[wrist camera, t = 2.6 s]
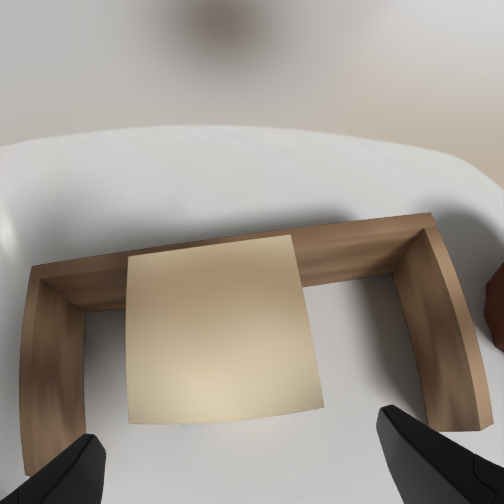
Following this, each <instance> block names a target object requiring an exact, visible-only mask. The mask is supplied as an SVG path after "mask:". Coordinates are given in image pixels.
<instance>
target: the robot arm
mask: <svg viewBox="0 0 504 504" xmlns="http://www.w3.org/2000/svg"><path fill="white" fill-rule="evenodd" d="M376 429H377V433H378V436H379V439H380V442H381V446H382V449H383V452H384V455H385V459H386V462H387V465H388V468H389V471H390V473H391V475H392V478H393V480H394V482H395V484H396V486H397V489H398V491H399V493H400V495H401V498H402V500H403V502H404V504H504V468H503V467H501V466H499V465H496V464H494V463H492V462H490V461H488V460H486V459H484V458H482V457H480V456H479V455H477V454H473V452H471V451H470V450H468V449H466V448H464V447H463V446H461V445H459V444H457V443H456V442H454V441H452V440H450V439H449V438H447V437H445V436H444V435H442V434H440V433H439V432H437V431H435V430H433V429H432V428H430V427H428V426H427V425H425V424H424V423H422V422H420V421H419V420H417V419H415V418H414V417H412V416H410V415H409V414H407V413H406V412H404V411H402V410H401V409H399V408H398V407H396V406H394V405H388V406H384V407H381V408H380V410H379V413H378V419H377V423H376ZM105 462H106V451H105V449H104V447H103V446H102V444H101V443H100V441H99V439H98V438H97V437H96V436H95V435H94V434H83V435H81V436H80V437H79V438H78V439H77V440H75V441H74V442H73V443H72V444H71V445H69V446H68V447H67V448H66V449H65V450H63V451H62V452H61V453H60V454H59V455H57V456H56V457H55V458H54V459H53V460H51V461H50V462H49V463H48V464H46V465H45V466H44V467H43V468H42V469H40V470H39V471H38V472H37V473H35V474H34V475H33V476H32V477H31V478H29V479H28V480H27V481H26V482H24V483H23V484H22V485H21V486H19V487H18V488H17V489H15V490H14V491H13V492H12V493H10V494H9V495H8V496H6V497H5V498H4V499H2V500H1V501H0V504H101V499H102V493H103V485H104V473H105Z"/></svg>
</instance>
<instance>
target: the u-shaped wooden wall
mask: <svg viewBox="0 0 504 504" xmlns="http://www.w3.org/2000/svg"><path fill="white" fill-rule="evenodd" d="M283 235H291V239H292V243H293V248H294V252H295V257H296V262H297V266H298V271H299V276H300V280H301V285H302V287H308V286H315V285H321V284H328V283H334V282H340V281H346V280H352V279H358V278H364V277H370V276H376V275H381V274H387V273H392V275H393V278H394V282H395V285H396V288H397V291H398V294H399V298H400V301H401V305H402V308H403V312H404V315H405V319H406V322H407V326H408V330H409V334H410V338H411V342H412V346H413V350H414V354H415V358H416V363H417V367H418V372H419V376H420V381H421V386H422V391H423V397H424V402H425V408H426V414H427V420H428V426H429V427H430V428H432V429H433V430H435V431H437V432H463V431H481V430H483V429H485V428H487V427H488V426H490V425H492V424H494V423H493V415H492V408H491V402H490V396H489V390H488V385H487V379H486V375H485V370H484V365H483V361H482V357H481V352H480V348H479V344H478V341H477V337H476V333H475V329H474V326H473V323H472V319H471V316H470V312H469V309H468V306H467V303H466V300H465V297H464V294H463V291H462V288H461V285H460V282H459V280H458V277H457V274H456V271H455V269H454V266H453V264H452V261H451V258H450V256H449V253H448V251H447V249H446V246H445V244H444V241H443V239H442V237H441V234H440V232H439V230H438V228H437V225H436V223H435V221H434V219H433V217H432V214H431V212H430V213H421V214H412V215H402V216H393V217H384V218H375V219H367V220H358V221H349V222H341V223H333V224H324V225H316V226H308V227H300V228H292V229H284V230H276V231H268V232H261V233H253V234H245V235H238V236H230V237H223V238H216V239H208V240H201V241H194V242H187V243H180V244H173V245H166V246H159V247H152V248H145V249H138V250H131V251H125V252H118V253H111V254H105V255H98V256H92V257H85V258H79V259H73V260H66V261H60V262H54V263H48V264H42V265H36V266H32V268H31V273H30V278H29V284H28V290H27V296H26V303H25V310H24V318H23V327H22V337H21V350H20V370H19V412H20V431H21V443H22V453H23V461H24V469H25V475H27V476H30V477H32V476H33V475H34V474H35V473H37V472H38V471H39V470H40V469H42V468H43V467H44V466H45V465H46V464H48V463H49V462H50V461H51V460H53V459H54V458H55V457H56V456H57V455H59V454H60V453H61V452H62V451H63V450H65V449H66V448H67V447H68V446H69V445H71V444H72V443H73V442H74V441H75V440H77V439H78V438H79V437H80V436H81V435H83V434H86V425H85V409H84V329H85V312H95V311H107V310H118V309H126V292H127V272H128V257H129V256H136V255H143V254H150V253H157V252H164V251H171V250H178V249H186V248H193V247H200V246H208V245H215V244H222V243H230V242H237V241H245V240H252V239H260V238H268V237H275V236H283Z"/></svg>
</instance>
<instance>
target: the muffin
mask: <svg viewBox="0 0 504 504" xmlns="http://www.w3.org/2000/svg"><path fill="white" fill-rule="evenodd" d="M484 317H485V319H486V321H487V323H488V326H489V328H490V330H491V334H492V337H493V341H494V345H495V347H497V348H498V349H500V350H501V351H503V352H504V263H503V264H502V265H501V267H500V268H499V269H498V271H497V272H496V273H495V274H494V276H493V277H492V278H491V279H490V280H489V282H488V283H487V284H486V304H485V311H484Z"/></svg>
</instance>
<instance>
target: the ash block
mask: <svg viewBox="0 0 504 504" xmlns="http://www.w3.org/2000/svg"><path fill="white" fill-rule="evenodd" d="M126 383H127V401H128V416H129V424H196V423H213V422H226V421H237V420H247V419H256V418H263V417H271V416H278V415H284V414H291V413H297V412H302V411H308V410H313V409H318V408H323V407H324V403H323V397H322V391H321V385H320V380H319V374H318V368H317V363H316V357H315V352H314V346H313V341H312V336H311V330H310V325H309V320H308V315H307V310H306V305H305V300H304V295H303V290H302V285H301V280H300V276H299V271H298V266H297V262H296V257H295V252H294V248H293V243H292V239H291V235H283V236H275V237H268V238H260V239H252V240H245V241H237V242H230V243H222V244H215V245H208V246H200V247H193V248H186V249H178V250H171V251H164V252H157V253H150V254H143V255H136V256H129V257H128V272H127V292H126Z"/></svg>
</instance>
